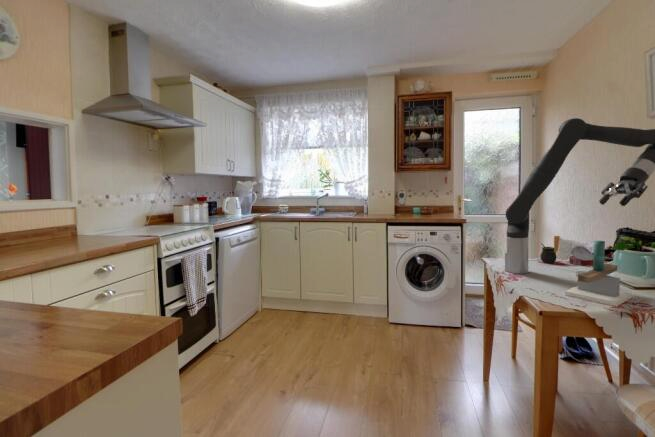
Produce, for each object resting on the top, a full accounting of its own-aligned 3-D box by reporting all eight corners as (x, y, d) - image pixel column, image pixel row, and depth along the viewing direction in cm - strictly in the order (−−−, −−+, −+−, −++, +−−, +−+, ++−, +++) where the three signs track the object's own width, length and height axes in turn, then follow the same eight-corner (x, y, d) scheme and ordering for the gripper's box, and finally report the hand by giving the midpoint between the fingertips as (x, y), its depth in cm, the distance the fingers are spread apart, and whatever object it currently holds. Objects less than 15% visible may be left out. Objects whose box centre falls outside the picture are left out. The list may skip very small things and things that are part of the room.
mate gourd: (552, 264, 173) (552, 245, 172) (537, 262, 180) (536, 244, 179) (559, 262, 177) (559, 243, 176) (543, 260, 183) (543, 242, 182)
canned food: (589, 271, 174) (601, 255, 170) (585, 273, 167) (598, 257, 163) (566, 258, 181) (577, 243, 177) (561, 260, 174) (573, 244, 170)
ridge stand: (564, 294, 131) (565, 274, 130) (581, 287, 138) (581, 268, 137) (616, 306, 117) (617, 283, 116) (632, 297, 124) (632, 276, 124)
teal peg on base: (578, 280, 122) (578, 245, 121) (605, 268, 135) (606, 236, 133) (590, 282, 119) (590, 246, 118) (617, 270, 132) (618, 237, 130)
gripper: (614, 167, 140) (589, 197, 140) (651, 165, 126) (623, 198, 125) (626, 179, 141) (600, 209, 141) (663, 179, 127) (635, 211, 127)
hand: (611, 204), depth 133 cm, fingers open, 8 cm apart
